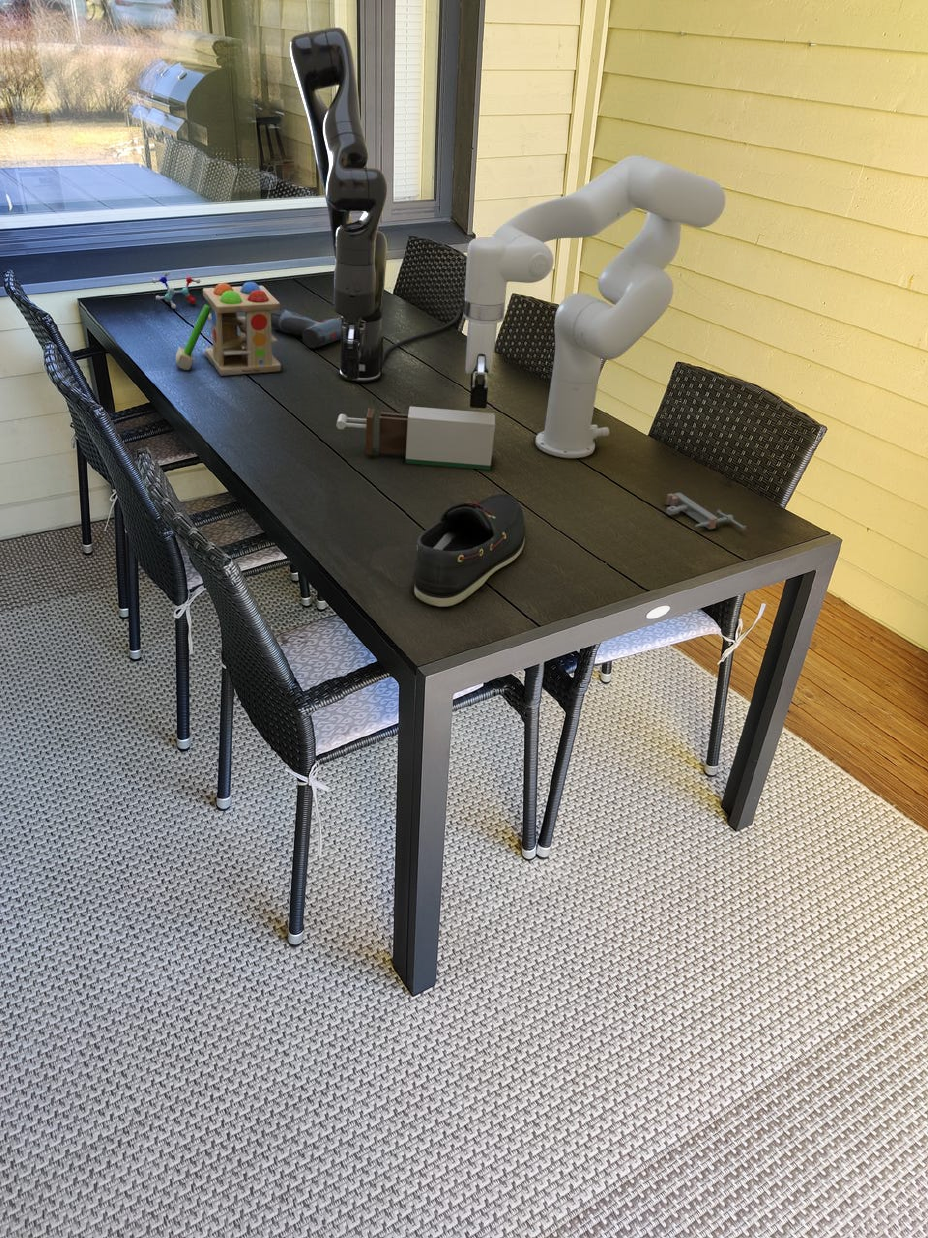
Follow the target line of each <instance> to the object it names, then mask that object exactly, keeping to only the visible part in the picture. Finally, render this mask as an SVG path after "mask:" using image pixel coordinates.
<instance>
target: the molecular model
mask: <svg viewBox="0 0 928 1238" xmlns="http://www.w3.org/2000/svg"><path fill="white" fill-rule="evenodd" d="M163 273H164V275H163V276H161V277H160V278H158V279H156V278H151V282H152V283H153V284H156V283H162V284H164V286H165V287H166V289H167V292H166V294H165V295H163V296H160V295H156V296H155V300H156V301H160V300H165V302H167V303H170V305H171V309H173V310H176V308H177V305H176V304H175V303H174V302H173V300H172V299H173V297H174V296H175V295H176V294H182V295H183V296H185V297H186V298H187V299H188V301H189V303H190V304H191V305H194V304H196V298H194V297H192V295H191V294H190V293H189V289H188V288H189V285H190V284H191V283H196V284H200V283H201V279H200V278H196V279H193V278H192V277H190V276H188V277H186V279H185V281H186V284H185V286H184V287H183V288H181V290H175V289H174V287H170V286H169V284H168V278H167V277H168V276H169V275H170V271H168V270H165V271H163Z"/></svg>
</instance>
